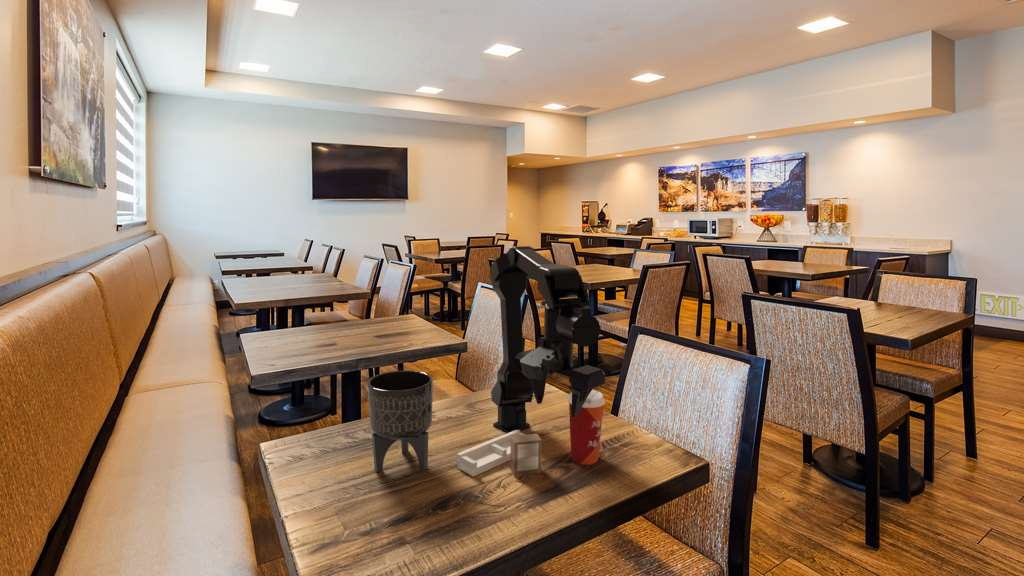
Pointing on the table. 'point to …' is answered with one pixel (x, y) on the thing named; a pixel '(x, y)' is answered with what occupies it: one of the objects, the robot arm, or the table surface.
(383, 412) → the planter
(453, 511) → the table surface
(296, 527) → the table surface
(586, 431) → the paper cup
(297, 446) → the table surface
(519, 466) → the tall taupe pillar block
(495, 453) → the white tray base
